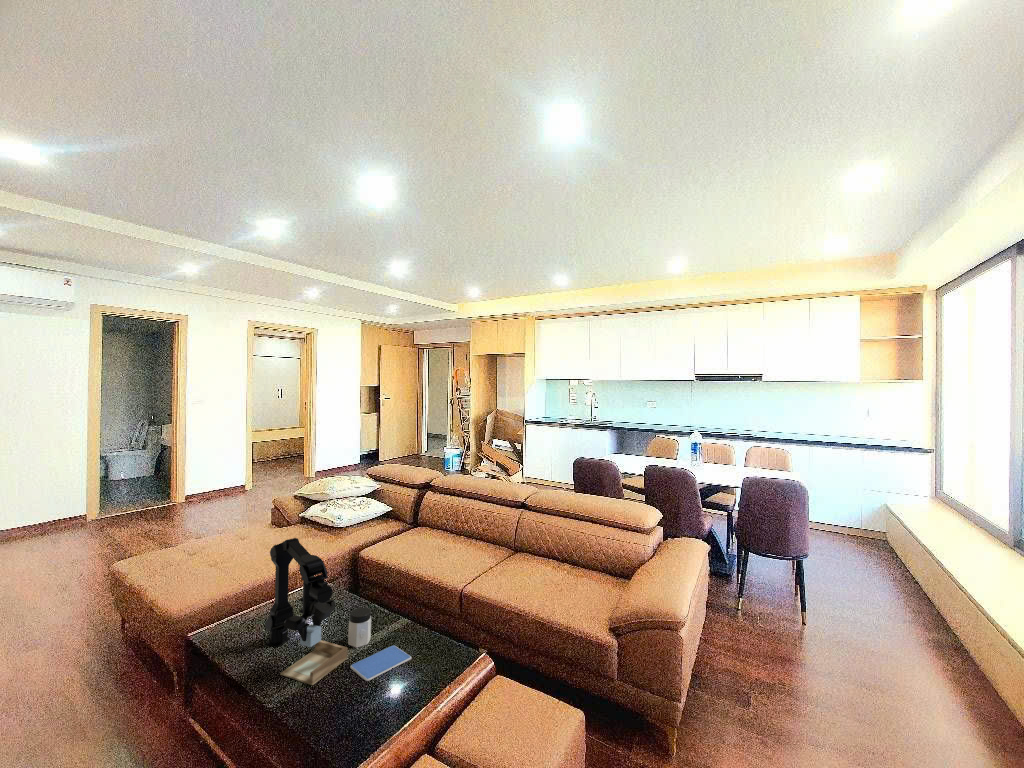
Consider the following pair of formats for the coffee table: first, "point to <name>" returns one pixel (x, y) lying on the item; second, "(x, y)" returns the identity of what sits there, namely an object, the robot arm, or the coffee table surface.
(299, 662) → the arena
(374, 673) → the tablet computer
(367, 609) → the jar
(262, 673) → the coffee table surface
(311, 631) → the cube
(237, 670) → the coffee table surface
